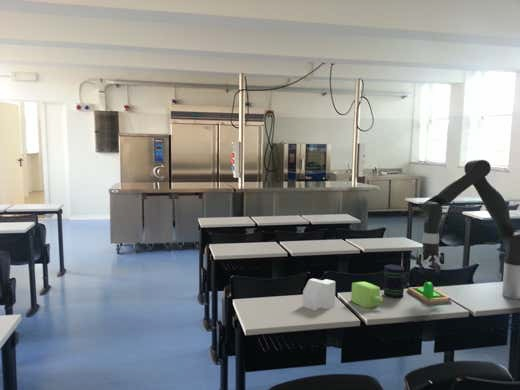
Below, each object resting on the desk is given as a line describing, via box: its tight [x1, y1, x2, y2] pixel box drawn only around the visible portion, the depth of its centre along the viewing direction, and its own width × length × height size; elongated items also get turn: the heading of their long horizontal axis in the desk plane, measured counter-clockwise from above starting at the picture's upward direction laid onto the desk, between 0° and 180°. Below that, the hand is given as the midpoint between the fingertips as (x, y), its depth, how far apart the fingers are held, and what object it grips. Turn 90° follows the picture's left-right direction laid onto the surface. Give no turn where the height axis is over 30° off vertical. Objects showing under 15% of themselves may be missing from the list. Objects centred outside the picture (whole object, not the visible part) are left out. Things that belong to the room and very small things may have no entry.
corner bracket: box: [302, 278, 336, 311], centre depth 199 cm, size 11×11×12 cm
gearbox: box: [350, 281, 384, 309], centre depth 203 cm, size 18×10×10 cm, turn 29°
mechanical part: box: [417, 281, 441, 298], centre depth 212 cm, size 12×6×8 cm, turn 8°
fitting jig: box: [406, 286, 452, 306], centre depth 213 cm, size 12×20×2 cm, turn 11°
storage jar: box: [383, 264, 405, 299], centre depth 215 cm, size 10×10×15 cm
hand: (429, 273), depth 212 cm, fingers open, 8 cm apart
